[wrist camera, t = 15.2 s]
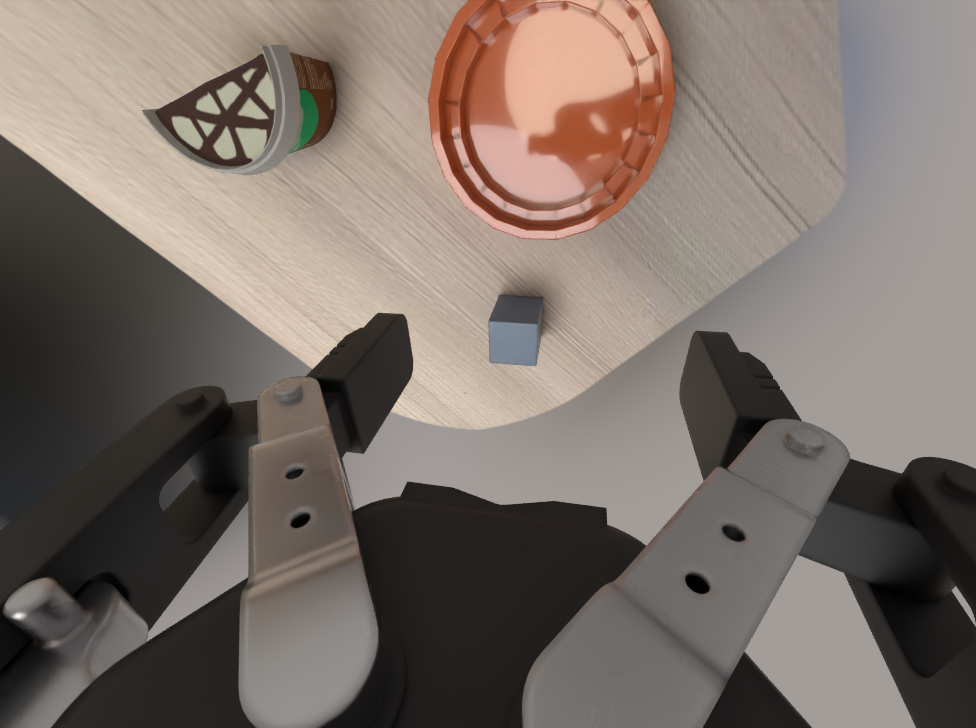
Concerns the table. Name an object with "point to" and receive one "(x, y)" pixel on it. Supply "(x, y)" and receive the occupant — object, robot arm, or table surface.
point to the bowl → (550, 110)
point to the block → (515, 330)
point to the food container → (252, 113)
